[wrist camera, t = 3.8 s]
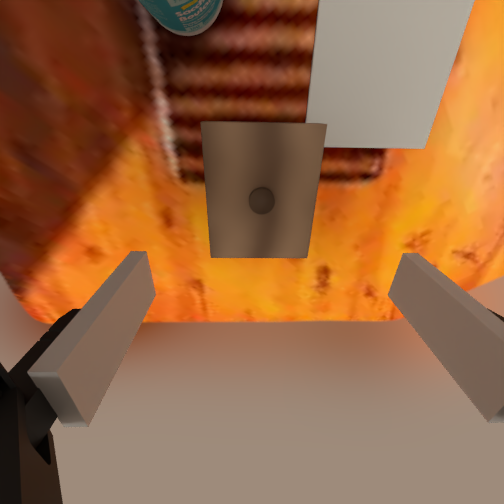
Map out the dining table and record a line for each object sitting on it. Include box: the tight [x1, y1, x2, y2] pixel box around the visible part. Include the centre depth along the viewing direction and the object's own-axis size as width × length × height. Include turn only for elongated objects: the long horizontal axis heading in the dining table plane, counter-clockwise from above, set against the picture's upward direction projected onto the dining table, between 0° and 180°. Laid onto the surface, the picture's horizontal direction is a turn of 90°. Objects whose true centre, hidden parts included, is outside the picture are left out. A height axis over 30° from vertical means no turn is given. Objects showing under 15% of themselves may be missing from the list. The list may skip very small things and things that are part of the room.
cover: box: [201, 121, 327, 258], centre depth 24 cm, size 10×13×3 cm
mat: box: [305, 0, 475, 149], centre depth 24 cm, size 14×16×1 cm
